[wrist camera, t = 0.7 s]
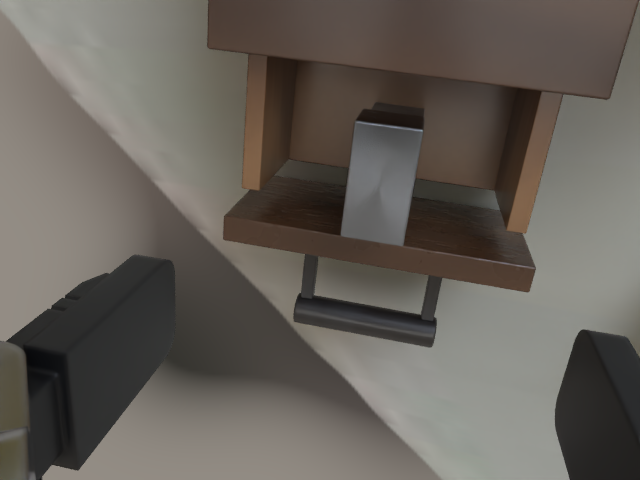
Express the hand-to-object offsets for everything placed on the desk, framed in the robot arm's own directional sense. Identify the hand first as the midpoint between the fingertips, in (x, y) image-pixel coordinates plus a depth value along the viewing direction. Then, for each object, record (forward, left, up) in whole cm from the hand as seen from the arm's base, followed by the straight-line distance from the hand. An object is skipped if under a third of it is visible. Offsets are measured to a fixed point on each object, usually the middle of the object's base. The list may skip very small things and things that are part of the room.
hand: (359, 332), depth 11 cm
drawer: (0, -1, -19) cm, 19 cm away
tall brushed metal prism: (0, -1, -18) cm, 18 cm away
